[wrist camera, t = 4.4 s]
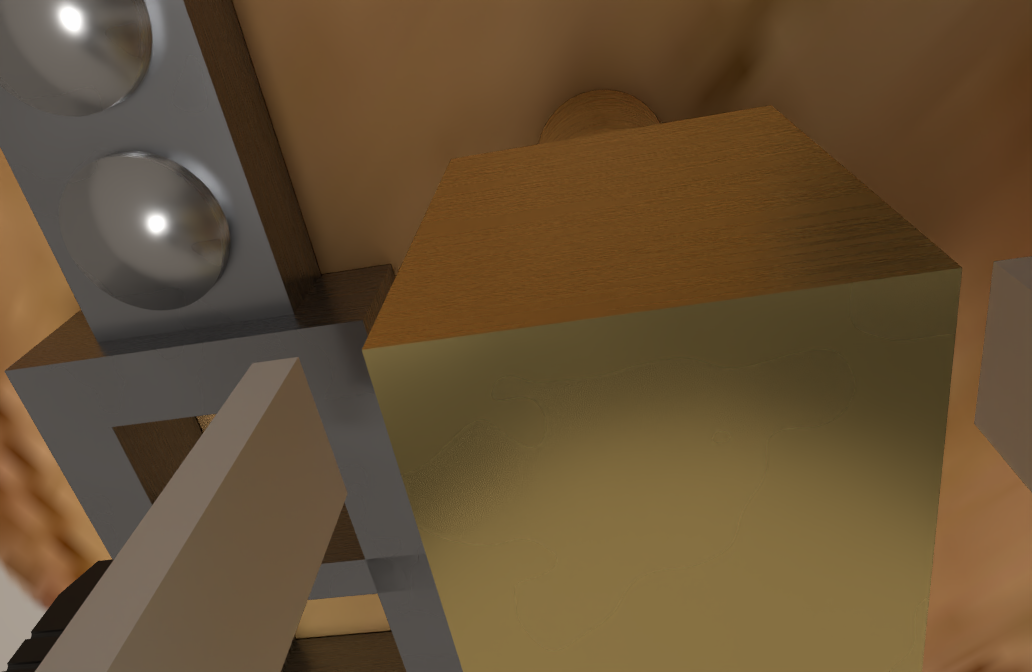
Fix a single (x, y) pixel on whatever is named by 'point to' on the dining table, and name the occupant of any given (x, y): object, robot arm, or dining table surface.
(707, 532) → the tan piece
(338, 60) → the dining table surface
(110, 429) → the chain joint
